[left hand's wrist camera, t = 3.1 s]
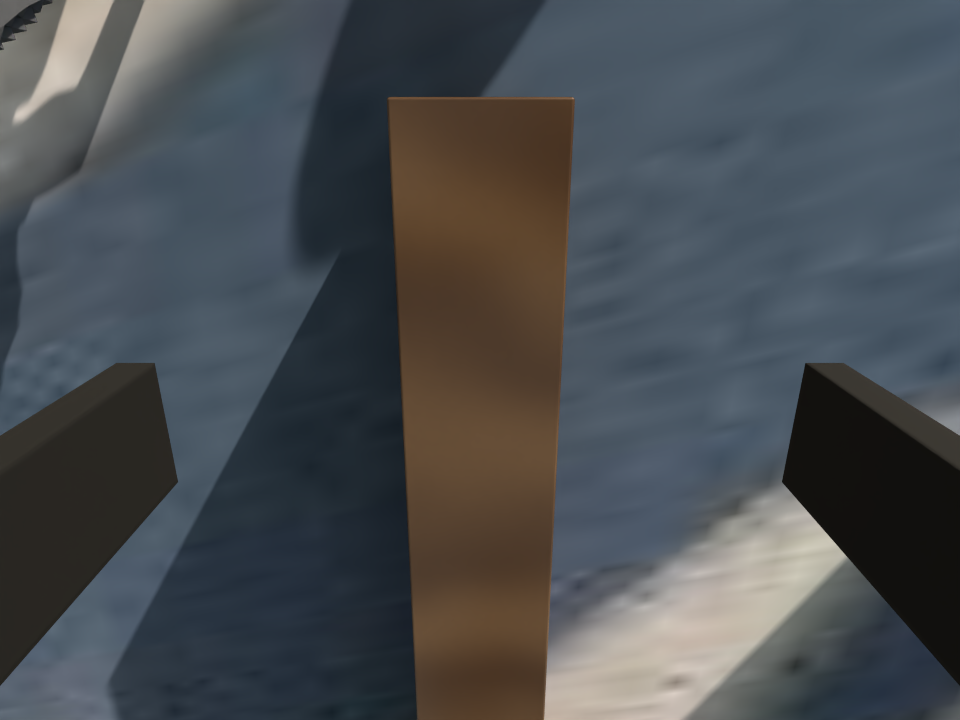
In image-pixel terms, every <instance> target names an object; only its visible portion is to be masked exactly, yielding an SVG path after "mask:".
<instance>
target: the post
mask: <svg viewBox="0 0 960 720" xmlns="http://www.w3.org/2000/svg"><path fill="white" fill-rule="evenodd" d="M574 105H575V100H574V98H573V97H389V98H387V113H388V134H389V154H390V175H391V195H392V216H393V236H394V257H395V278H396V298H397V319H398V339H399V360H400V380H401V401H402V421H403V442H404V462H405V483H406V503H407V524H408V544H409V565H410V585H411V606H412V626H413V647H414V667H415V688H416V708H417V720H544V710H545V689H546V669H547V649H548V629H549V609H550V589H551V568H552V548H553V528H554V508H555V488H556V468H557V448H558V427H559V407H560V387H561V367H562V347H563V327H564V306H565V286H566V266H567V246H568V226H569V206H570V185H571V165H572V145H573V125H574Z"/></svg>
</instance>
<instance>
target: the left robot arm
mask: <svg viewBox="0 0 960 720" xmlns="http://www.w3.org/2000/svg"><path fill="white" fill-rule="evenodd" d="M177 483H178V480H177V475H176V470H175V464H174V459H173V454H172V449H171V444H170V439H169V434H168V429H167V424H166V419H165V414H164V409H163V404H162V399H161V394H160V389H159V383H158V378H157V373H156V368H155V363H116V364H114V365H113V366H111V367H110V368H108V369H106V370H105V371H103V372H102V373H100V374H98V375H97V376H95V377H94V378H92V379H90V380H89V381H87V382H86V383H84V384H82V385H81V386H79V387H78V388H76V389H74V390H73V391H71V392H70V393H68V394H66V395H65V396H63V397H62V398H60V399H58V400H57V401H55V402H54V403H52V404H50V405H49V406H47V407H46V408H44V409H42V410H41V411H39V412H38V413H36V414H34V415H33V416H31V417H30V418H28V419H26V420H25V421H23V422H22V423H20V424H18V425H17V426H15V427H14V428H12V429H10V430H9V431H7V432H6V433H4V434H2V435H1V436H0V685H1V684H2V683H3V682H4V681H5V680H6V678H7V677H8V676H9V675H10V674H11V673H12V672H13V670H14V669H15V668H16V667H17V666H18V665H19V664H20V662H21V661H22V660H23V659H24V658H25V657H26V656H27V654H28V653H29V652H30V651H31V650H32V649H33V648H34V646H35V645H36V644H37V643H38V642H39V641H40V640H41V638H42V637H43V636H44V635H45V634H46V633H47V631H48V630H49V629H50V628H51V627H52V626H53V625H54V623H55V622H56V621H57V620H58V619H59V618H60V617H61V615H62V614H63V613H64V612H65V611H66V610H67V609H68V607H69V606H70V605H71V604H72V603H73V602H74V601H75V599H76V598H77V597H78V596H79V595H80V594H81V593H82V591H83V590H84V589H85V588H86V587H87V586H88V585H89V583H90V582H91V581H92V580H93V579H94V578H95V576H96V575H97V574H98V573H99V572H100V571H101V570H102V568H103V567H104V566H105V565H106V564H107V563H108V562H109V560H110V559H111V558H112V557H113V556H114V555H115V554H116V552H117V551H118V550H119V549H120V548H121V547H122V546H123V544H124V543H125V542H126V541H127V540H128V539H129V538H130V536H131V535H132V534H133V533H134V532H135V531H136V529H137V528H138V527H139V526H140V525H141V524H142V523H143V521H144V520H145V519H146V518H147V517H148V516H149V515H150V513H151V512H152V511H153V510H154V509H155V508H156V507H157V505H158V504H159V503H160V502H161V501H162V500H163V499H164V497H165V496H166V495H167V494H168V493H169V492H170V491H171V489H172V488H173V487H174V486H175V485H176V484H177ZM782 483H783V484H784V485H785V486H786V487H787V488H788V489H789V491H790V492H791V493H792V494H793V495H794V496H795V497H796V499H797V500H798V501H799V502H800V503H801V504H802V505H803V507H804V508H805V509H806V510H807V511H808V512H809V513H810V515H811V516H812V517H813V518H814V519H815V520H816V521H817V523H818V524H819V525H820V526H821V527H822V528H823V529H824V531H825V532H826V533H827V534H828V535H829V536H830V538H831V539H832V540H833V541H834V542H835V543H836V544H837V546H838V547H839V548H840V549H841V550H842V551H843V552H844V554H845V555H846V556H847V557H848V558H849V559H850V560H851V562H852V563H853V564H854V565H855V566H856V567H857V568H858V570H859V571H860V572H861V573H862V574H863V575H864V576H865V578H866V579H867V580H868V581H869V582H870V583H871V585H872V586H873V587H874V588H875V589H876V590H877V591H878V593H879V594H880V595H881V596H882V597H883V598H884V599H885V601H886V602H887V603H888V604H889V605H890V606H891V607H892V609H893V610H894V611H895V612H896V613H897V614H898V615H899V617H900V618H901V619H902V620H903V621H904V622H905V623H906V625H907V626H908V627H909V628H910V629H911V630H912V631H913V633H914V634H915V635H916V636H917V637H918V638H919V640H920V641H921V642H922V643H923V644H924V645H925V646H926V648H927V649H928V650H929V651H930V652H931V653H932V654H933V656H934V657H935V658H936V659H937V660H938V661H939V662H940V664H941V665H942V666H943V667H944V668H945V669H946V670H947V672H948V673H949V674H950V675H951V676H952V677H953V678H954V680H955V681H956V682H957V683H958V684H959V685H960V436H959V435H958V434H956V433H954V432H953V431H951V430H950V429H948V428H946V427H945V426H943V425H942V424H940V423H938V422H937V421H935V420H934V419H932V418H930V417H929V416H927V415H926V414H924V413H922V412H921V411H919V410H918V409H916V408H914V407H913V406H911V405H910V404H908V403H906V402H905V401H903V400H902V399H900V398H898V397H897V396H895V395H894V394H892V393H890V392H889V391H887V390H886V389H884V388H882V387H881V386H879V385H878V384H876V383H874V382H873V381H871V380H870V379H868V378H866V377H865V376H863V375H862V374H860V373H858V372H857V371H855V370H854V369H852V368H850V367H849V366H847V365H846V364H844V363H805V368H804V373H803V378H802V383H801V389H800V394H799V399H798V404H797V409H796V414H795V419H794V424H793V429H792V434H791V439H790V444H789V449H788V454H787V459H786V464H785V470H784V475H783V480H782Z"/></svg>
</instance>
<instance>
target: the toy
mask: <svg viewBox="0 0 960 720" xmlns="http://www.w3.org/2000/svg"><path fill="white" fill-rule="evenodd" d="M50 3H52V0H0V50H3V49H4V48H3V45H2V43H3V42H7V41H12V40H16V39H15V36H14V33H19V32H23V31H27V30H26V27H25V25H27V24H31V23H36V22H37V20H36V17H35V14H34V13H39V12H40V11H41V8H42V5H46V4H50Z"/></svg>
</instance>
